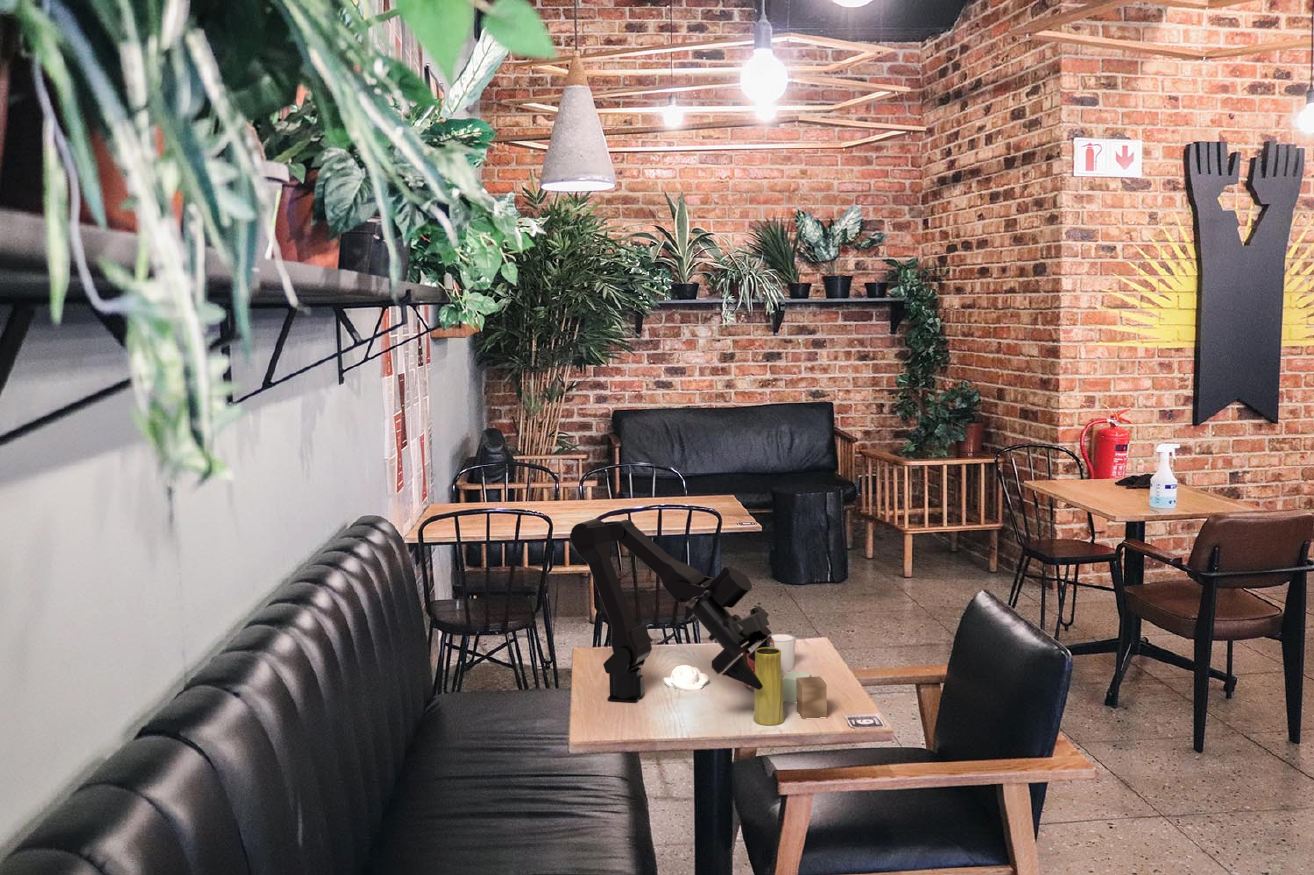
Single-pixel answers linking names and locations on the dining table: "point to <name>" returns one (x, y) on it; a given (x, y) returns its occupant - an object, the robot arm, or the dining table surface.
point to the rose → (686, 678)
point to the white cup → (785, 650)
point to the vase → (768, 687)
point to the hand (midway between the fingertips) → (770, 681)
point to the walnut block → (811, 697)
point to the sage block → (791, 685)
